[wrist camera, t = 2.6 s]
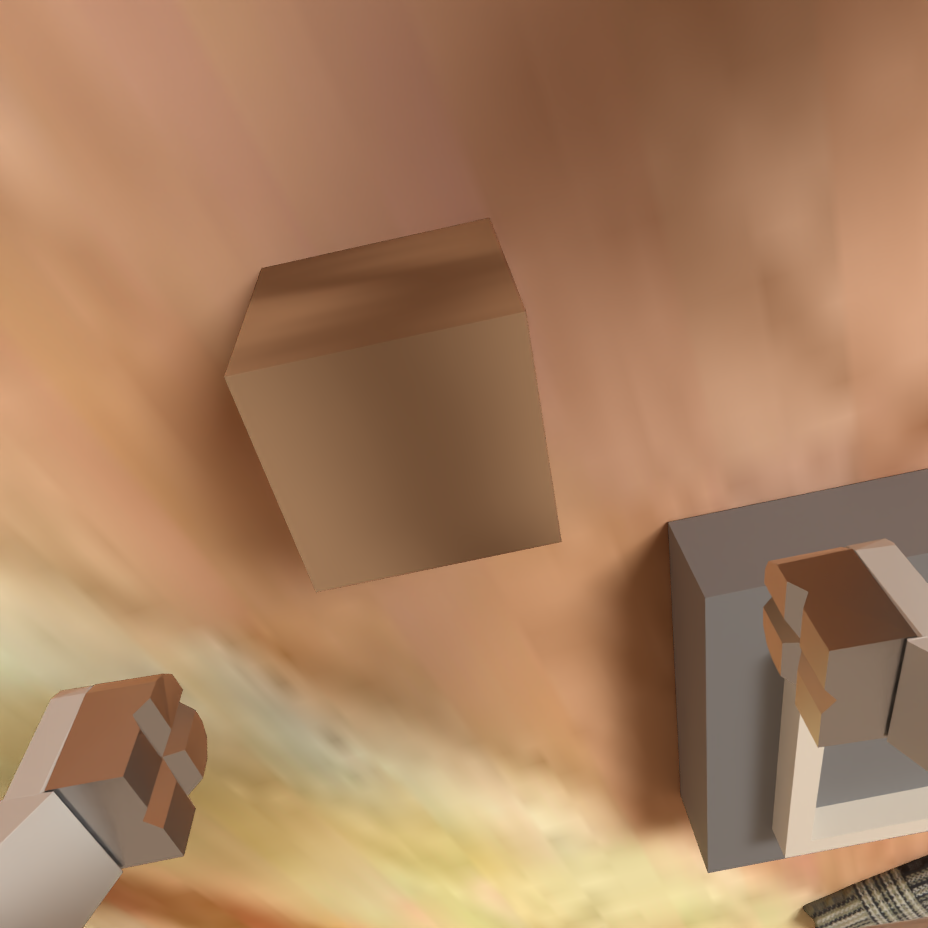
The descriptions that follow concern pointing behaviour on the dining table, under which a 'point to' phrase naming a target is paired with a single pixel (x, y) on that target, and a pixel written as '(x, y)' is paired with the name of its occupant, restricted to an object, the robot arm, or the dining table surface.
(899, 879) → the dish towel
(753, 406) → the dining table surface
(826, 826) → the plinth
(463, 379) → the walnut block
